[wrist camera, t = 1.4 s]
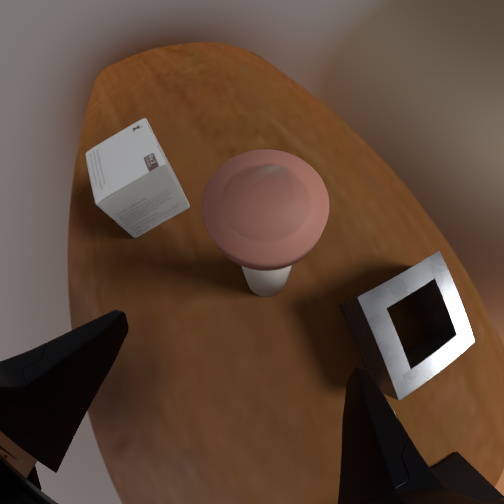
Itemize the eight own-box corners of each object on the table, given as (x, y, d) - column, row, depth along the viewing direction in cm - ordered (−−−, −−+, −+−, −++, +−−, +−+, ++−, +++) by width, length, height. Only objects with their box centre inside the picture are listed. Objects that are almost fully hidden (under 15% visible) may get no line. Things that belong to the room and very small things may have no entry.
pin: (304, 291, 22) (351, 231, 9) (250, 314, 21) (228, 283, 9) (281, 241, 23) (294, 136, 11) (229, 262, 23) (187, 174, 10)
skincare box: (119, 193, 26) (82, 152, 19) (169, 163, 26) (144, 114, 19) (135, 240, 24) (93, 205, 17) (192, 208, 24) (167, 161, 17)
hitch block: (444, 343, 19) (474, 341, 15) (375, 390, 19) (398, 400, 14) (413, 265, 22) (439, 250, 17) (339, 305, 21) (357, 297, 17)
